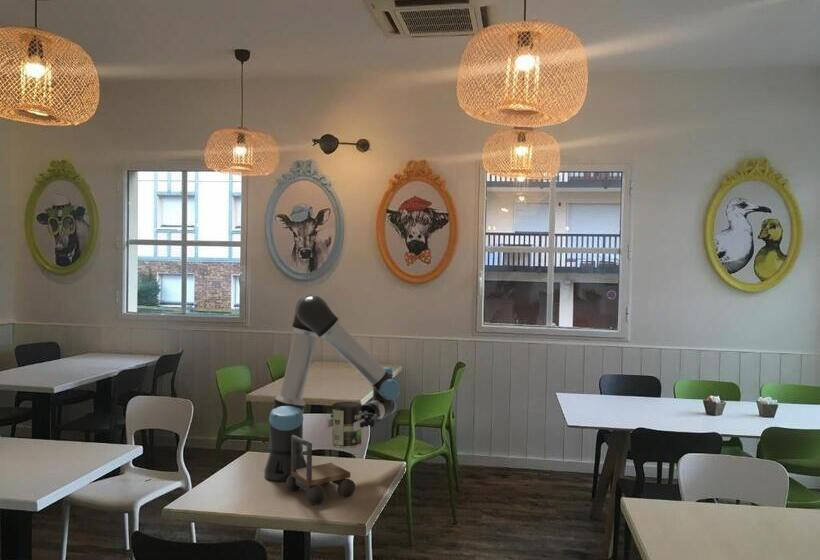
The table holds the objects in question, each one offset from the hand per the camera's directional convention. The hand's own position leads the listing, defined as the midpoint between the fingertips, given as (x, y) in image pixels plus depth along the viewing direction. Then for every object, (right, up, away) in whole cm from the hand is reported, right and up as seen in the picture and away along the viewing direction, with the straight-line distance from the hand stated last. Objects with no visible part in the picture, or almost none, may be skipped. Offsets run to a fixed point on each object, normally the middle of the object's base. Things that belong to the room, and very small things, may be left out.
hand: (340, 425), depth 219 cm
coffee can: (+2, -8, +4) cm, 9 cm away
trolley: (-6, -20, -10) cm, 23 cm away
